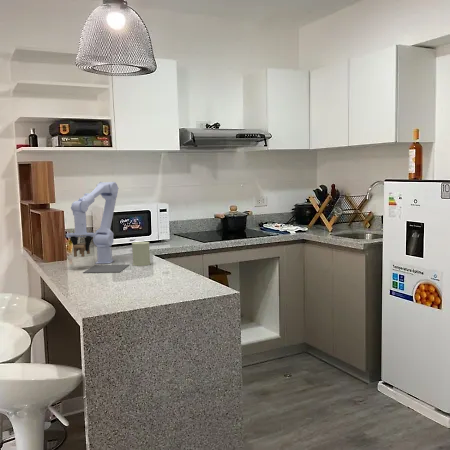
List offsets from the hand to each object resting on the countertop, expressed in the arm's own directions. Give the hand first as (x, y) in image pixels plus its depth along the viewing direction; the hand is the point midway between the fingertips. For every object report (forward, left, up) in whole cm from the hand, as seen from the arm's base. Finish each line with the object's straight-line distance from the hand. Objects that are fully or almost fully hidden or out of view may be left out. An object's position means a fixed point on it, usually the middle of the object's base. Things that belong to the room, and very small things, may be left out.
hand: (81, 251), depth 260 cm
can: (-8, +28, -9) cm, 31 cm away
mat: (+4, +13, -9) cm, 17 cm away
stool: (0, 0, -2) cm, 2 cm away
